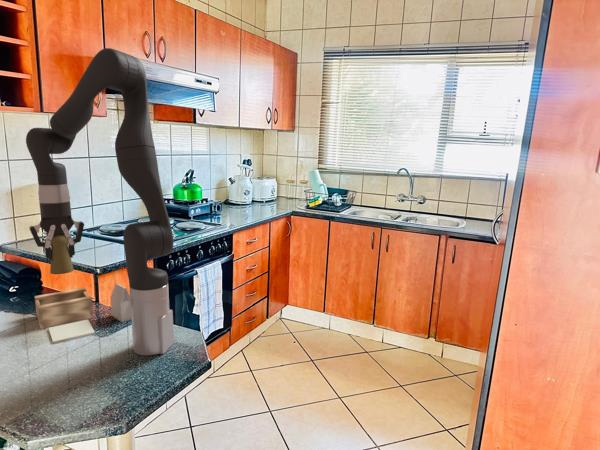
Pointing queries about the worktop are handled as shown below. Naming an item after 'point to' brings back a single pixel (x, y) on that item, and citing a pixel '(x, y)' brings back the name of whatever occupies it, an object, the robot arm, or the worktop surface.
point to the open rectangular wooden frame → (63, 307)
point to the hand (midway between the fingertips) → (60, 258)
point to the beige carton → (120, 303)
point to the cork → (60, 255)
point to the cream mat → (71, 331)
